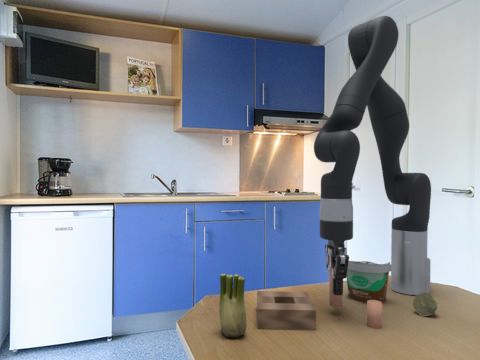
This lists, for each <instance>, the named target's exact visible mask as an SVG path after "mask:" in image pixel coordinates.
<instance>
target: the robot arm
mask: <svg viewBox="0 0 480 360" xmlns="http://www.w3.org/2000/svg"><path fill="white" fill-rule="evenodd" d="M398 41H399V28H398V25H397V23H396V21H395V19H393V18H392V17H391V16H389V15H382V16H378V17H375V18H372V19H370V20H368V21H365V22H363V23H360V24H358V25H356V26H354V27H352V28H351V29H350V30H349V33H348V36H347V45H348V51H349V54H350V57H351V60H352V63H353V66H354V68H355V72H354V73H353V74H352V75H351V76H350V77H349V79H348V80H347V81H346V83H345V84H344V86H342V88H341V91H340V92H339V94H338V97H337V98H336V102H335V105H334V107H333V110H332V112H331V115H329V117H328V118H327V120H326V121H325V123H324V124H323V125H322V127H321V129H320V130H319V131H318V133H317V134H316V136H315V139H314V143H313V152H314V155H315V157H316V159H317V160H319V162H322V163H335V164H334V166H333V169H332V171H329V172H327V173H324V174H322V176H321V178H320V203H319V237H320V238H321V239H323V240H327V244H326V243H325V245H324V249H325V250H324V251H325V261H326V264H325V265H326V269H327V272H328V274H329V262H330V267H331V268H332V277H333V294H334V295H343V296H344V279H347V269H348V262H349V261H350V256H349V255H348V254H347V253H348V252H347V251H348V250H347V247H346V244H345V241H350V240H352V239H353V238H354V205H353V179H354V175H355V172H356V168H357V164H358V160H359V157H360V154H361V153H360V152H361V143H360V140H359V137H358V136H357V134H356V133H355V132H353V130H354V129H357V128H358V127H359V126H360V125H361V123H362V120H363V118H364V115H365V111H366V109H367V111H368V115H369V116H368V117H369V121H370V124H371V127H372V132H373V135H374V137H375V142H376V147H377V151H378V155H379V160H380V166H381V173H382V178H383V184H384V191H385V195H386V197H387V199H388V201H389V202H390V203H391V204H394V205H398V206H399V205H401V206H409V208H408V212H407V213H405V214H403V215H401V216H398V217H394V218H393V219H392V220H391V236H390V237H391V240H390V241H391V243H390V244H391V245H390V246H391V247H390V248H391V250H390V252H391V253H390V255H391V256H390V264H391V267H392V271H390V289H391V291H394V292H396V293H400V294H405V295H409V296H417V295H418V294H420V293H427V294H430V295H431V259H430V258H429V257H428V233H429V232H428V231H429V229H428V228H429V227H428V225H429V221H430V215H431V212H430V210H431V199H432V184H431V180H430V177H429V175H427V174H426V173H425V172H424V173H423V172H402V168H401V164H400V162H401V160H400V156H401V151H402V149H403V146H404V144H405V142H406V139H407V137H408V134H409V133H410V121H409V117H408V113H407V112H408V111H407V107H406V103H405V101H404V99H403V98H402V97H401V96H400V94H399V93H398V92H397V91H396V90H395V89H394V88H393V87H392V86H390V84H388V82H387V81H386V80H385V79H384V77H382V74H383V72H384V70H385V69H386V66H387V64H388V62H389V61H390V59H391V57H392V55H393V54H394V51H395V50H396V47H397V44H398ZM333 263H335V264H333ZM339 270H341V273H338V271H339Z"/></svg>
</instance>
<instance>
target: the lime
mask: <svg viewBox="0 0 480 360" xmlns="http://www.w3.org/2000/svg"><path fill="white" fill-rule="evenodd" d="M412 305H413V306H412V307H413V309H414V310H415V312H416V314H418V315H419V316H421V317H429V316H430V317H431V316H433V315H435V314H436V311H437V310H438V303H437V300H436V299H435V298H434V297H433V295H431V293H430V294H427V293H420V294H418V295H415V297H414V298H413V300H412Z"/></svg>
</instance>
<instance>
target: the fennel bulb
mask: <svg viewBox="0 0 480 360" xmlns="http://www.w3.org/2000/svg"><path fill="white" fill-rule="evenodd" d="M219 281H220V282H219V284H220V286H219V287H220V289H219V291H220V292H219V318H220V319H219V320H220V328H221V330H222V334H223V335H224V336H225V337H228V338H238V337H240V336H242V335H244V334H245V332H246V331H247V312H246V306H245V283H246V281H245V278H244V277H243V276H240V275H239V274H234V275H233V274H226V273H221V274H220V275H219Z"/></svg>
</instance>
